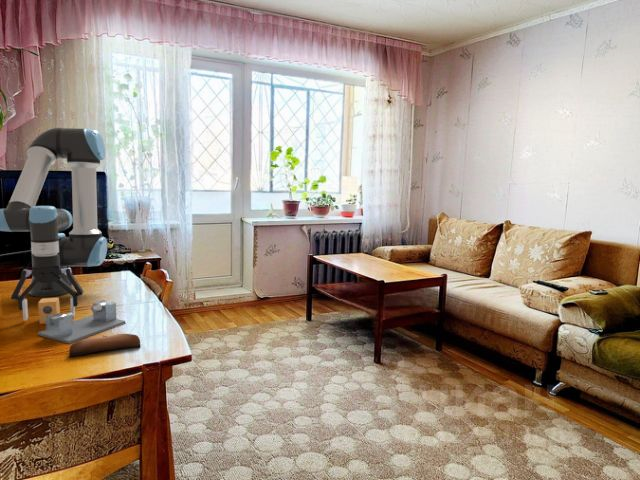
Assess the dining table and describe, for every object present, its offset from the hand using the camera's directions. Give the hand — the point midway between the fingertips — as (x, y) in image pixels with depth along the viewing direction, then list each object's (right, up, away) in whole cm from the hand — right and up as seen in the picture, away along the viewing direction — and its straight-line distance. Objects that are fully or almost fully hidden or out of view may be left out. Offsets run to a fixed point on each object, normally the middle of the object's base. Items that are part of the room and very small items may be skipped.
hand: (49, 317), depth 149 cm
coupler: (0, -1, 0) cm, 1 cm away
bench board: (+15, -2, -6) cm, 16 cm away
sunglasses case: (+28, -6, -20) cm, 35 cm away
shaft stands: (+15, -2, -6) cm, 16 cm away
